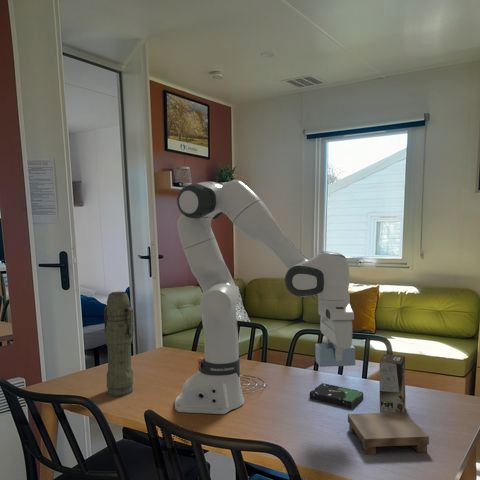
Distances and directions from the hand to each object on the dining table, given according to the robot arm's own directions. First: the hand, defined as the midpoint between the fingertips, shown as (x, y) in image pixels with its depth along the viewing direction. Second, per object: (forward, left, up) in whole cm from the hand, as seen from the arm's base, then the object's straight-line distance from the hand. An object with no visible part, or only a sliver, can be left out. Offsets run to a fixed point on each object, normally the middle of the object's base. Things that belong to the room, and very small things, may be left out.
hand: (334, 356), depth 119 cm
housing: (0, 0, -2) cm, 2 cm away
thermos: (-69, +30, -19) cm, 77 cm away
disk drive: (+5, +17, -20) cm, 27 cm away
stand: (+10, -10, -19) cm, 24 cm away
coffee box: (+19, +7, -20) cm, 28 cm away
